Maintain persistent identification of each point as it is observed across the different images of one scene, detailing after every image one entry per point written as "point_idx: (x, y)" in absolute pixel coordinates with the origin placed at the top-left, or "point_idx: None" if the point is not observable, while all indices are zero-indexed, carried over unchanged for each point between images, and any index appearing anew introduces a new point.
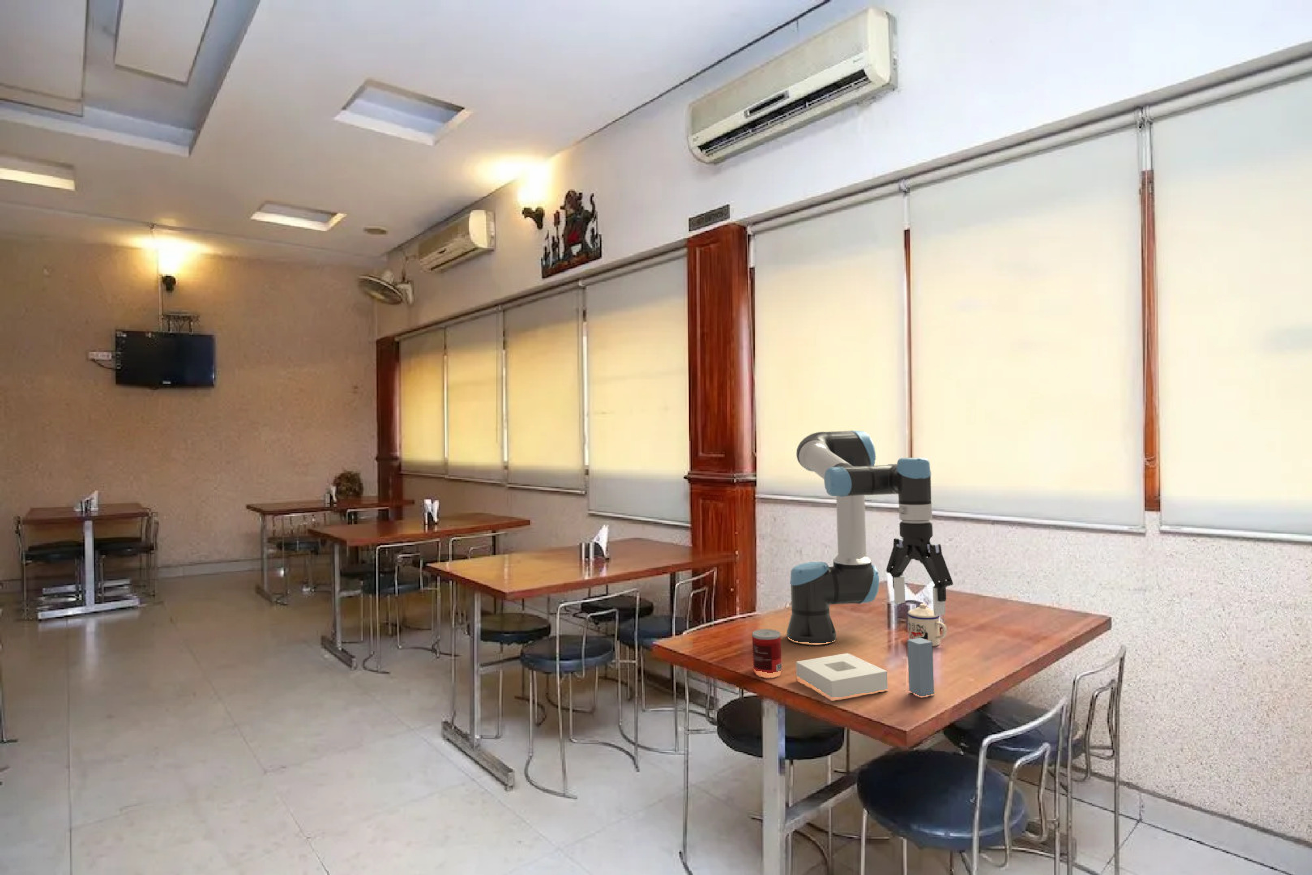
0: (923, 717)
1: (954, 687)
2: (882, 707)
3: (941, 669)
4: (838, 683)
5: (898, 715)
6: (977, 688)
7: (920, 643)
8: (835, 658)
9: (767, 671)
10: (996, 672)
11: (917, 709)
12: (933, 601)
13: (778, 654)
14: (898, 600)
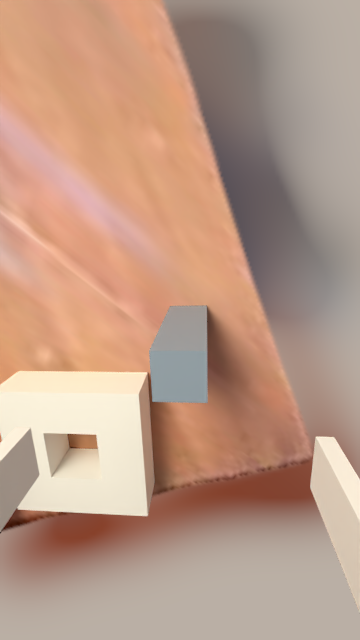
0: (284, 398)
1: (184, 225)
2: (212, 429)
3: (65, 158)
4: (148, 497)
5: (255, 428)
6: (213, 176)
7: (203, 394)
8: None
9: (7, 522)
10: (136, 15)
11: (249, 382)
12: (340, 559)
13: None
14: (29, 476)
